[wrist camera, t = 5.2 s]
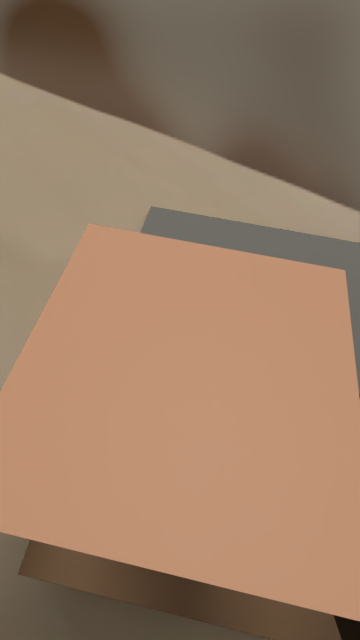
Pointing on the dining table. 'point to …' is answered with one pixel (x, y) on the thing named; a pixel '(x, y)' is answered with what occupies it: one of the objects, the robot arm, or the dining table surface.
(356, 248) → the mat
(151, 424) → the block
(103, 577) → the stand
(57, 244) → the dining table surface
